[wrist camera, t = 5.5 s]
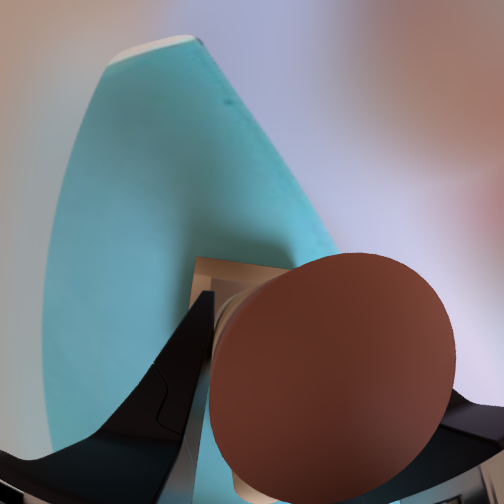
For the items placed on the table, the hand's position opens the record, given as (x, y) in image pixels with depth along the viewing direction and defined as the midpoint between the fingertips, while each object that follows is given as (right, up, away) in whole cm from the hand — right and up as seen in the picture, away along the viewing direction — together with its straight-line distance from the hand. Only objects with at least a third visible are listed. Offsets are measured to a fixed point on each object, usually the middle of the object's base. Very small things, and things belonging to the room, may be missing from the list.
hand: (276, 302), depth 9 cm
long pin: (-1, -3, +7) cm, 7 cm away
